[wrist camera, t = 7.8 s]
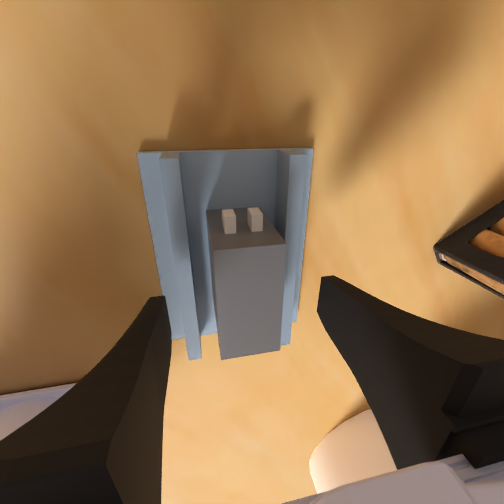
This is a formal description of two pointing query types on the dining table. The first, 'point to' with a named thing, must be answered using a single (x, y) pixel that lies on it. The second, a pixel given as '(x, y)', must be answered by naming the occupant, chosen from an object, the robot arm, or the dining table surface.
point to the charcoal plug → (246, 280)
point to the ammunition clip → (477, 250)
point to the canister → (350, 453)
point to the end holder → (195, 224)
